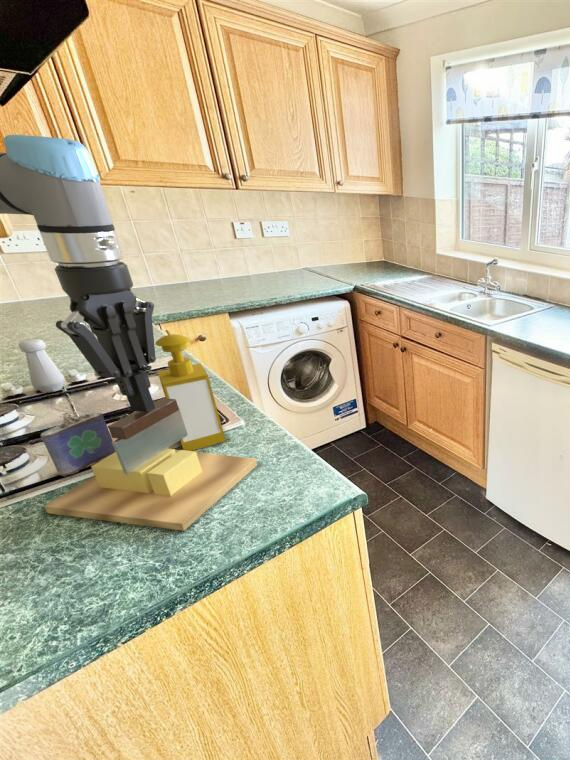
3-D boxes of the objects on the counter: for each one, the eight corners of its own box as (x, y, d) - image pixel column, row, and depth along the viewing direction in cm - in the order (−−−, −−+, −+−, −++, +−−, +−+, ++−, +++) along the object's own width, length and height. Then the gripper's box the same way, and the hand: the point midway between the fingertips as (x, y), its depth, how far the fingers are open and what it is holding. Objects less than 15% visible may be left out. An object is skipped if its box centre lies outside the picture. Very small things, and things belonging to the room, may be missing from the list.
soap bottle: (212, 417, 98) (185, 320, 88) (225, 441, 90) (197, 336, 80) (174, 427, 94) (141, 326, 84) (184, 452, 85) (149, 343, 75)
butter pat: (154, 494, 72) (146, 472, 70) (187, 469, 78) (180, 449, 76) (170, 496, 72) (163, 474, 70) (202, 471, 78) (196, 451, 76)
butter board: (47, 513, 69) (43, 506, 68) (145, 452, 85) (143, 445, 84) (184, 531, 67) (181, 523, 66) (257, 465, 83) (256, 458, 83)
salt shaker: (69, 382, 110) (49, 335, 104) (67, 390, 106) (46, 342, 100) (37, 387, 106) (14, 339, 101) (33, 396, 102) (10, 346, 97)
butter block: (100, 487, 73) (90, 466, 71) (137, 463, 79) (129, 443, 77) (148, 493, 72) (139, 472, 70) (181, 469, 78) (174, 449, 76)
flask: (65, 478, 76) (41, 427, 72) (54, 474, 77) (29, 424, 73) (120, 451, 85) (101, 404, 80) (110, 448, 85) (90, 402, 81)
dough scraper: (118, 473, 67) (100, 429, 64) (180, 434, 78) (167, 395, 75) (133, 474, 67) (115, 431, 64) (192, 435, 78) (180, 396, 74)
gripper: (65, 272, 53) (127, 431, 63) (155, 258, 65) (196, 394, 75) (11, 268, 53) (82, 427, 63) (110, 254, 65) (157, 390, 75)
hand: (143, 409), depth 69 cm, fingers closed
